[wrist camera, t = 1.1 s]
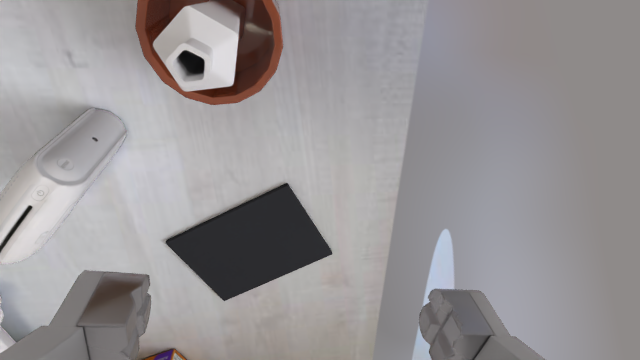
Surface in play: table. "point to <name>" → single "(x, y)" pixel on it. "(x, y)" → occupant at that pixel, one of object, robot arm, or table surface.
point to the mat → (252, 243)
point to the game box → (167, 356)
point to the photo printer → (55, 182)
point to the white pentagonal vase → (202, 44)
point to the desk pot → (252, 53)
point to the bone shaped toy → (4, 334)
